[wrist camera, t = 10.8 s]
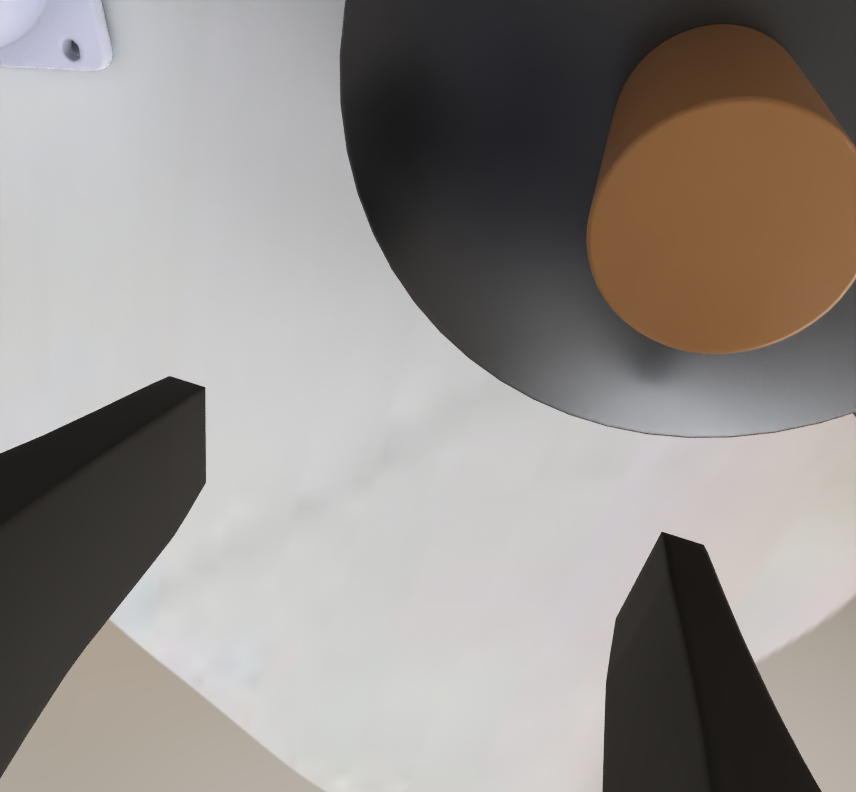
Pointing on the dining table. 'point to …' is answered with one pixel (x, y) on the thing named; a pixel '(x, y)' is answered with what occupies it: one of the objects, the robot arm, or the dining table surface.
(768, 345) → the lid
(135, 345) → the dining table surface
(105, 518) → the robot arm
